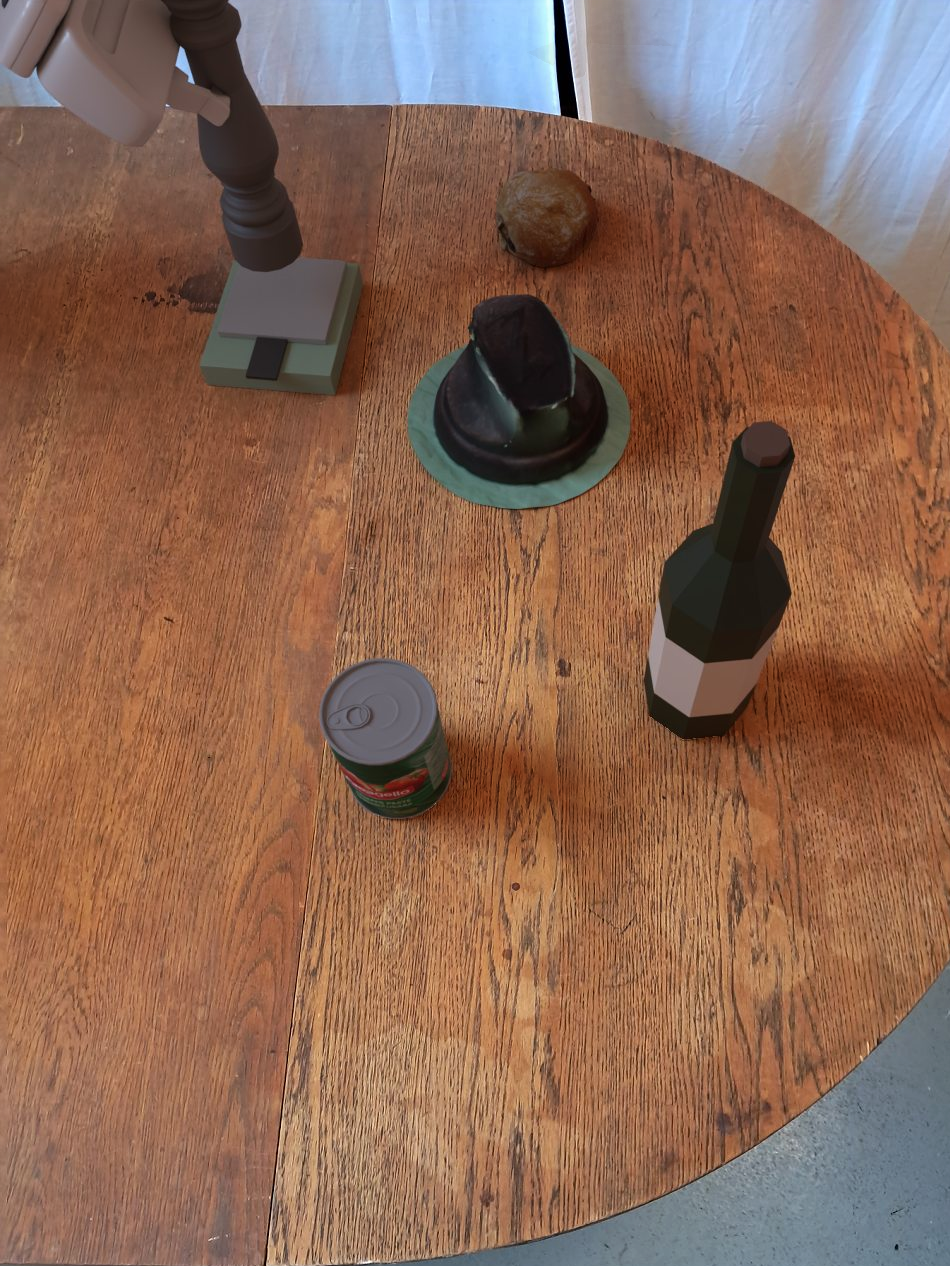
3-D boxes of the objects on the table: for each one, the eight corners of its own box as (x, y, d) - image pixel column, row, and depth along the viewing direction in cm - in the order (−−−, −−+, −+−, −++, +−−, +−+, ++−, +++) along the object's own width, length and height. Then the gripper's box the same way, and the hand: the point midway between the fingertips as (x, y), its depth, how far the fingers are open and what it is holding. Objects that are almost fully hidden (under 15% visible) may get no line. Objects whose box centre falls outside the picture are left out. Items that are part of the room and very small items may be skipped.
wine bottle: (711, 631, 84) (788, 357, 57) (768, 713, 81) (878, 463, 54) (622, 675, 83) (657, 414, 55) (677, 760, 79) (743, 527, 52)
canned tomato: (439, 714, 81) (424, 645, 71) (462, 805, 78) (449, 747, 68) (339, 738, 80) (309, 672, 70) (358, 832, 77) (330, 776, 67)
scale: (204, 394, 95) (193, 369, 92) (242, 275, 102) (233, 248, 99) (333, 404, 95) (326, 379, 92) (363, 284, 101) (357, 257, 98)
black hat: (683, 444, 91) (490, 553, 87) (578, 396, 105) (407, 488, 101) (643, 274, 82) (425, 387, 78) (534, 246, 96) (344, 341, 92)
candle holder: (220, 264, 90) (111, -59, 68) (249, 217, 93) (154, -108, 70) (286, 278, 89) (198, -44, 67) (314, 231, 92) (238, -94, 69)
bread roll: (491, 250, 108) (461, 205, 100) (558, 171, 106) (532, 119, 99) (556, 303, 104) (528, 260, 97) (625, 221, 103) (603, 172, 96)
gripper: (58, -101, 76) (228, 35, 85) (-6, 81, 68) (191, 211, 76) (94, -174, 72) (269, -23, 81) (32, 9, 63) (235, 155, 72)
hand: (231, 92), depth 79 cm, fingers closed on candle holder, 4 cm apart
